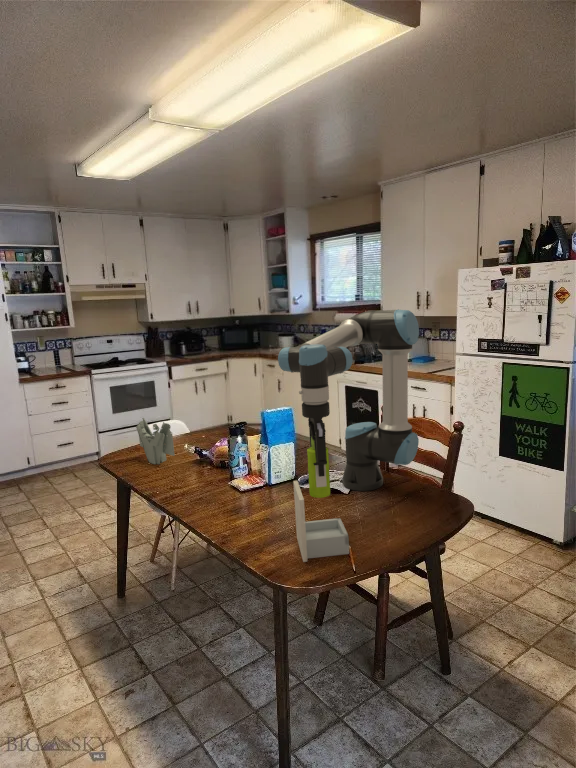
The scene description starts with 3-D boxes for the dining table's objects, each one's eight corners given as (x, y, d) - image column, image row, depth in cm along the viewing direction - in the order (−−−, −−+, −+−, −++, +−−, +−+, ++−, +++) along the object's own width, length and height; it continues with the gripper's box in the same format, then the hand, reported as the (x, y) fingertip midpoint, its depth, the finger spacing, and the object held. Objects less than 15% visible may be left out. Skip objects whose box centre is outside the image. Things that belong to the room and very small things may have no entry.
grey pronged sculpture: (134, 458, 232) (129, 417, 228) (147, 454, 237) (142, 414, 233) (168, 469, 214) (163, 425, 210) (181, 464, 219) (177, 421, 215)
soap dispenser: (328, 487, 142) (325, 420, 138) (331, 497, 135) (328, 427, 132) (308, 488, 142) (304, 422, 138) (310, 498, 135) (306, 428, 132)
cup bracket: (339, 532, 148) (337, 476, 145) (350, 556, 135) (348, 495, 132) (296, 537, 147) (293, 480, 144) (303, 562, 134) (299, 500, 130)
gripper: (297, 396, 142) (301, 471, 146) (306, 410, 124) (311, 496, 128) (322, 393, 143) (326, 469, 147) (335, 408, 124) (339, 493, 129)
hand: (319, 481), depth 137 cm, fingers closed on soap dispenser, 6 cm apart
